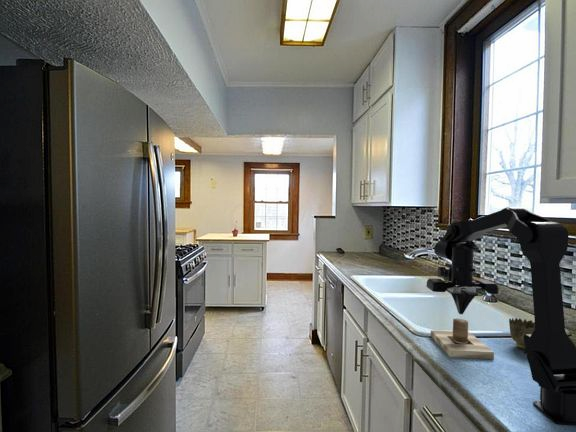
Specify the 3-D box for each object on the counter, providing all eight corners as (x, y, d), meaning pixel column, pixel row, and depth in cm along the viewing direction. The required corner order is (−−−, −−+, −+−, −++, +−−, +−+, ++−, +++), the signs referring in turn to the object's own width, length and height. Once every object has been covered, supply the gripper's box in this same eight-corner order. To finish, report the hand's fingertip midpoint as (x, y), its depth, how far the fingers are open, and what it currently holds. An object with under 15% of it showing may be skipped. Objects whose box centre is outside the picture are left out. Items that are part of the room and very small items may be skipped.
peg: (470, 350, 92) (471, 323, 92) (455, 349, 92) (456, 323, 92) (463, 344, 96) (464, 318, 96) (449, 343, 97) (450, 318, 96)
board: (493, 359, 87) (494, 352, 87) (449, 357, 88) (449, 350, 88) (468, 337, 101) (468, 331, 101) (430, 336, 102) (430, 330, 102)
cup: (544, 355, 90) (545, 327, 89) (515, 352, 91) (516, 325, 91) (529, 343, 97) (530, 318, 97) (503, 341, 98) (504, 316, 98)
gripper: (480, 259, 101) (478, 306, 101) (421, 257, 102) (419, 304, 103) (500, 265, 90) (498, 318, 90) (434, 264, 91) (432, 316, 92)
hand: (460, 313), depth 94 cm, fingers closed
